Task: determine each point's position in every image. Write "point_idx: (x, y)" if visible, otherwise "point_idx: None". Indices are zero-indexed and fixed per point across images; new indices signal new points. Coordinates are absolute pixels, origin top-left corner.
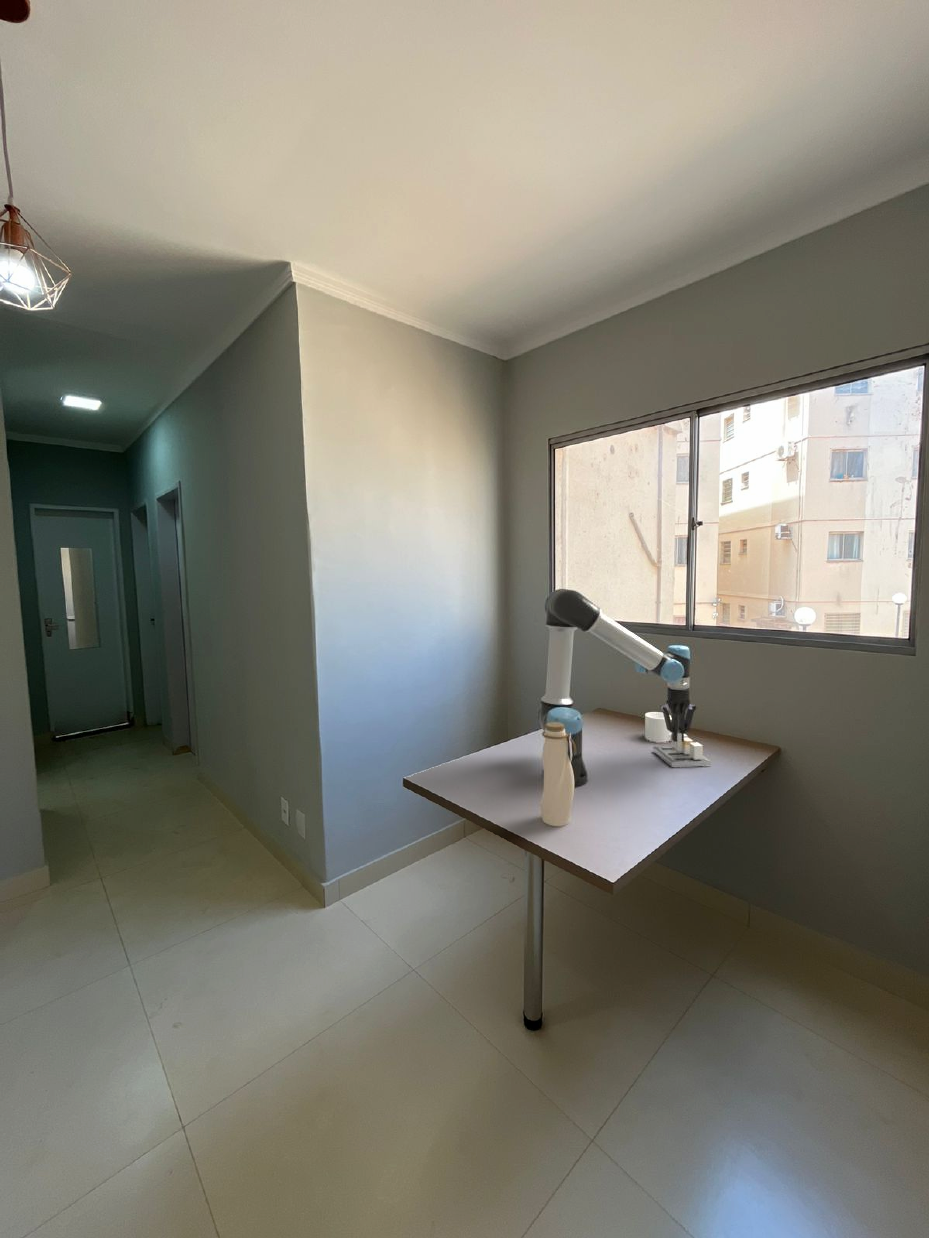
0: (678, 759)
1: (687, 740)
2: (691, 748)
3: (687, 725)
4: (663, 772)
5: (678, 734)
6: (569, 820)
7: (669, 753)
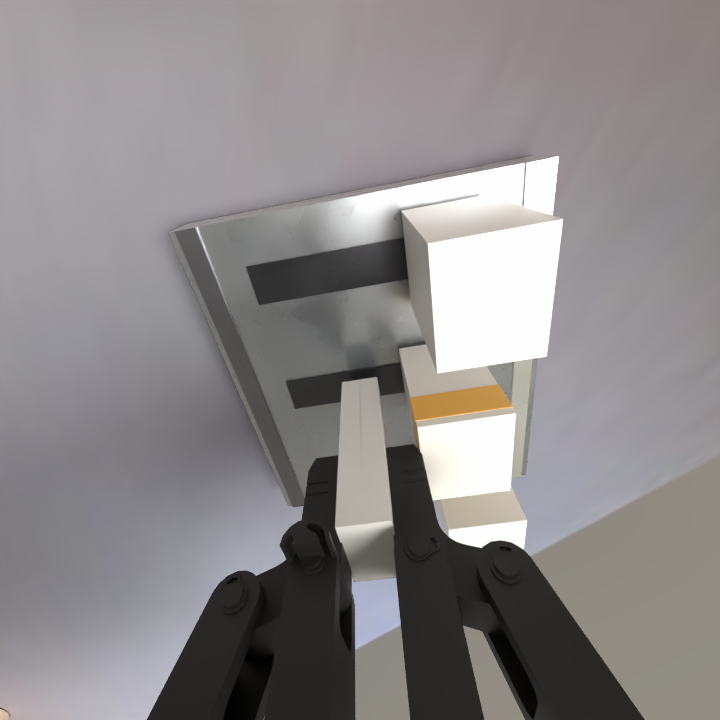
0: None
1: (457, 487)
2: (440, 514)
3: (524, 705)
4: (241, 521)
5: (362, 570)
6: (6, 712)
7: (299, 388)
